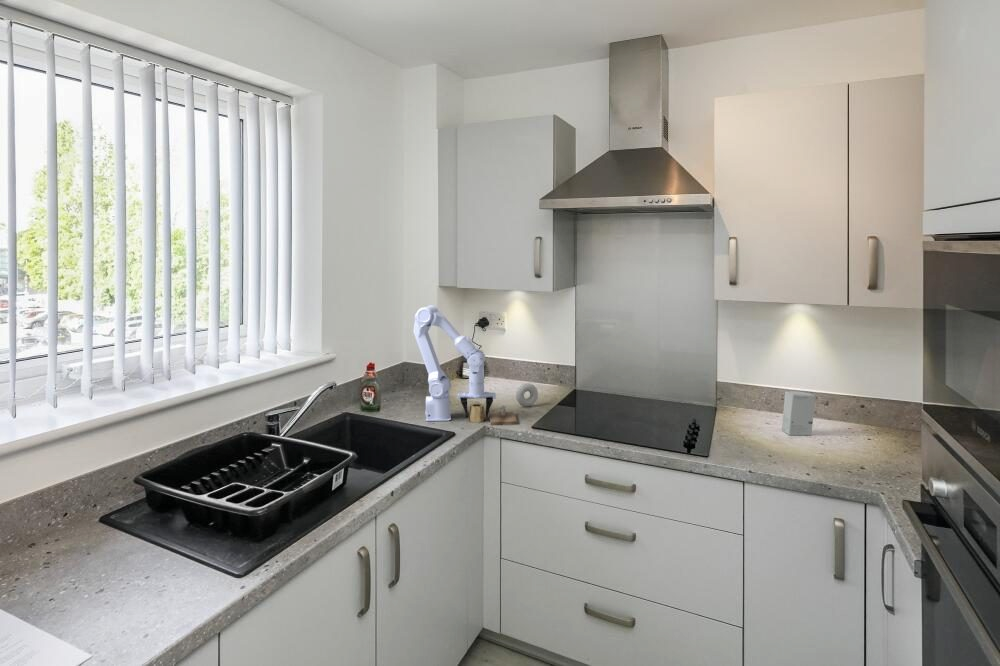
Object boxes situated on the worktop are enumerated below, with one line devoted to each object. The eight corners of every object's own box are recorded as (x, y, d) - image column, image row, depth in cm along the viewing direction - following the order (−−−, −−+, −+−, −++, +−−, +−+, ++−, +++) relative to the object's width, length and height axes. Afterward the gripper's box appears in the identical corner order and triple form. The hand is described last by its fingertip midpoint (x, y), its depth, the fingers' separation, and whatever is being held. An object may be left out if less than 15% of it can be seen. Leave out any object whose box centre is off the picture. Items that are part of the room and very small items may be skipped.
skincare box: (789, 435, 198) (792, 394, 196) (780, 430, 204) (783, 390, 202) (812, 435, 198) (816, 395, 196) (803, 430, 204) (807, 390, 202)
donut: (535, 404, 239) (535, 381, 237) (539, 406, 236) (539, 383, 234) (514, 406, 235) (514, 383, 233) (517, 408, 232) (518, 385, 230)
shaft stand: (490, 425, 210) (490, 410, 209) (488, 415, 222) (488, 401, 222) (517, 424, 211) (517, 410, 210) (513, 414, 223) (513, 401, 223)
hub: (470, 422, 213) (470, 407, 212) (469, 418, 218) (469, 403, 217) (483, 422, 213) (483, 406, 212) (483, 418, 218) (483, 403, 218)
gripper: (457, 385, 209) (458, 420, 211) (496, 384, 210) (496, 419, 212) (457, 380, 216) (457, 415, 218) (494, 380, 217) (494, 414, 219)
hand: (476, 416), depth 215 cm, fingers open, 7 cm apart
